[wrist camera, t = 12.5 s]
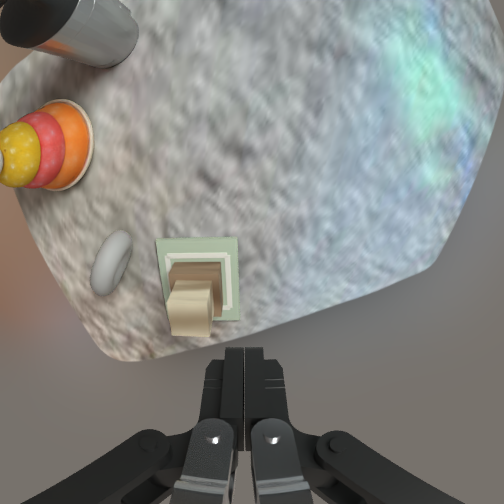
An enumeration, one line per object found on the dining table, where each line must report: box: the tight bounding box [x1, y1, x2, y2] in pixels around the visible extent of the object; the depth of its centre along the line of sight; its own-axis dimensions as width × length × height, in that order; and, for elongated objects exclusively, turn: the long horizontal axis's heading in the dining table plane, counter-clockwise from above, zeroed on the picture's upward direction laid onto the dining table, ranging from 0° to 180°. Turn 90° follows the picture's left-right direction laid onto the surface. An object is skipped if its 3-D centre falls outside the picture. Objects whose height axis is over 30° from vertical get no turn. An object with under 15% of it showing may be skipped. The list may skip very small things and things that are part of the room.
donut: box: [90, 230, 132, 296], centre depth 40 cm, size 10×4×10 cm, turn 153°
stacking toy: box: [0, 99, 94, 191], centre depth 29 cm, size 14×14×20 cm
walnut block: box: [168, 262, 223, 317], centre depth 44 cm, size 7×7×4 cm
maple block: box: [166, 280, 214, 337], centre depth 40 cm, size 5×5×6 cm
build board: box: [156, 237, 240, 320], centre depth 47 cm, size 14×12×1 cm
